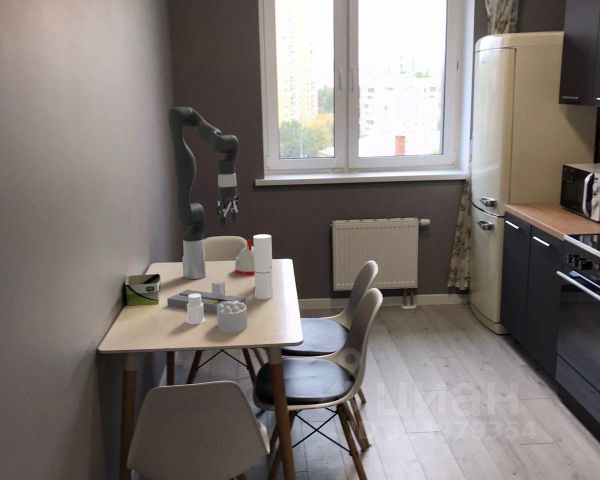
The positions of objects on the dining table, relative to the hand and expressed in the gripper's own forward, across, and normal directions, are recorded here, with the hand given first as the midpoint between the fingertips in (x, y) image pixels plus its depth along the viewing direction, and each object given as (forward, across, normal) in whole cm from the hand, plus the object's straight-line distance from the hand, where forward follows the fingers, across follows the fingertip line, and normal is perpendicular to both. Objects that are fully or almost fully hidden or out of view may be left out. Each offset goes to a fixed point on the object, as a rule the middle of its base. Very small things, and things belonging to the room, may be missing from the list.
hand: (229, 223), depth 282 cm
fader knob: (+28, +23, +9) cm, 37 cm away
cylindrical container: (+28, +4, +18) cm, 34 cm away
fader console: (+28, +23, +3) cm, 36 cm away
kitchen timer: (+28, -28, -8) cm, 41 cm away
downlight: (+28, +40, +10) cm, 50 cm away
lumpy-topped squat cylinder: (+28, +40, +26) cm, 55 cm away
